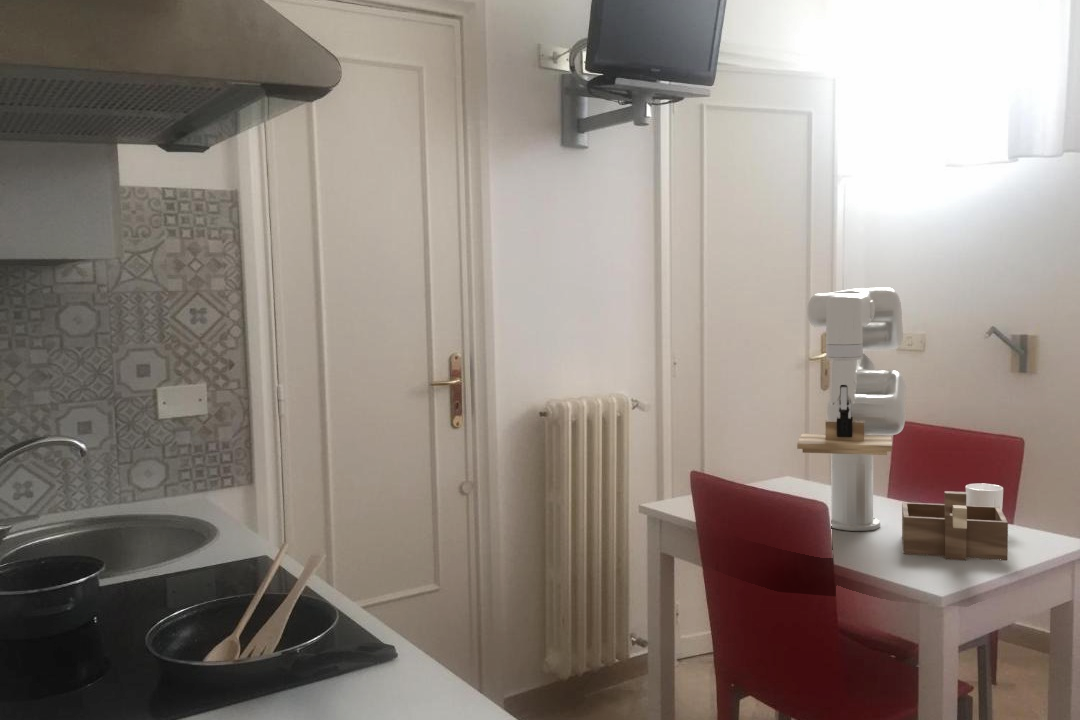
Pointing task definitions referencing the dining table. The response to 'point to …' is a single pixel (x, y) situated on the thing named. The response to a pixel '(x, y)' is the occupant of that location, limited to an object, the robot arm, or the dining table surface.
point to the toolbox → (954, 530)
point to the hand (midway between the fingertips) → (844, 435)
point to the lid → (845, 441)
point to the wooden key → (959, 516)
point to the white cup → (984, 495)
